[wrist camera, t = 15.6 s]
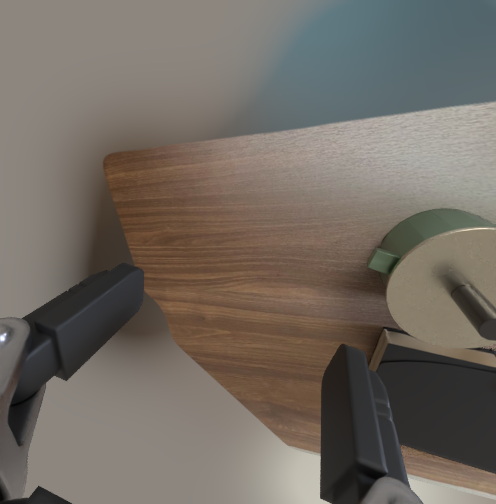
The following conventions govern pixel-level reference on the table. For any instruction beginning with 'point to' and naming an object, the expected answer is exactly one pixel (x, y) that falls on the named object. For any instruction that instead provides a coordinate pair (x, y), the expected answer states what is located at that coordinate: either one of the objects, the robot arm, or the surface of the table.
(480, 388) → the file folder
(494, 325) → the lid
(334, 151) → the table surface
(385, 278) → the tin
